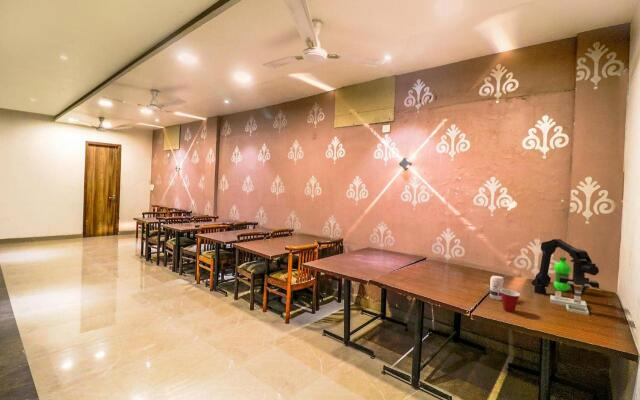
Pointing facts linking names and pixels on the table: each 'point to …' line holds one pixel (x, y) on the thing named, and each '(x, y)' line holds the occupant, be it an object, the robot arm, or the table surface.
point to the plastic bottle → (562, 274)
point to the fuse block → (566, 301)
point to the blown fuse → (577, 295)
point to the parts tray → (577, 308)
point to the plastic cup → (509, 299)
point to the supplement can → (496, 287)
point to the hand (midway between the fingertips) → (577, 295)
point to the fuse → (557, 295)
